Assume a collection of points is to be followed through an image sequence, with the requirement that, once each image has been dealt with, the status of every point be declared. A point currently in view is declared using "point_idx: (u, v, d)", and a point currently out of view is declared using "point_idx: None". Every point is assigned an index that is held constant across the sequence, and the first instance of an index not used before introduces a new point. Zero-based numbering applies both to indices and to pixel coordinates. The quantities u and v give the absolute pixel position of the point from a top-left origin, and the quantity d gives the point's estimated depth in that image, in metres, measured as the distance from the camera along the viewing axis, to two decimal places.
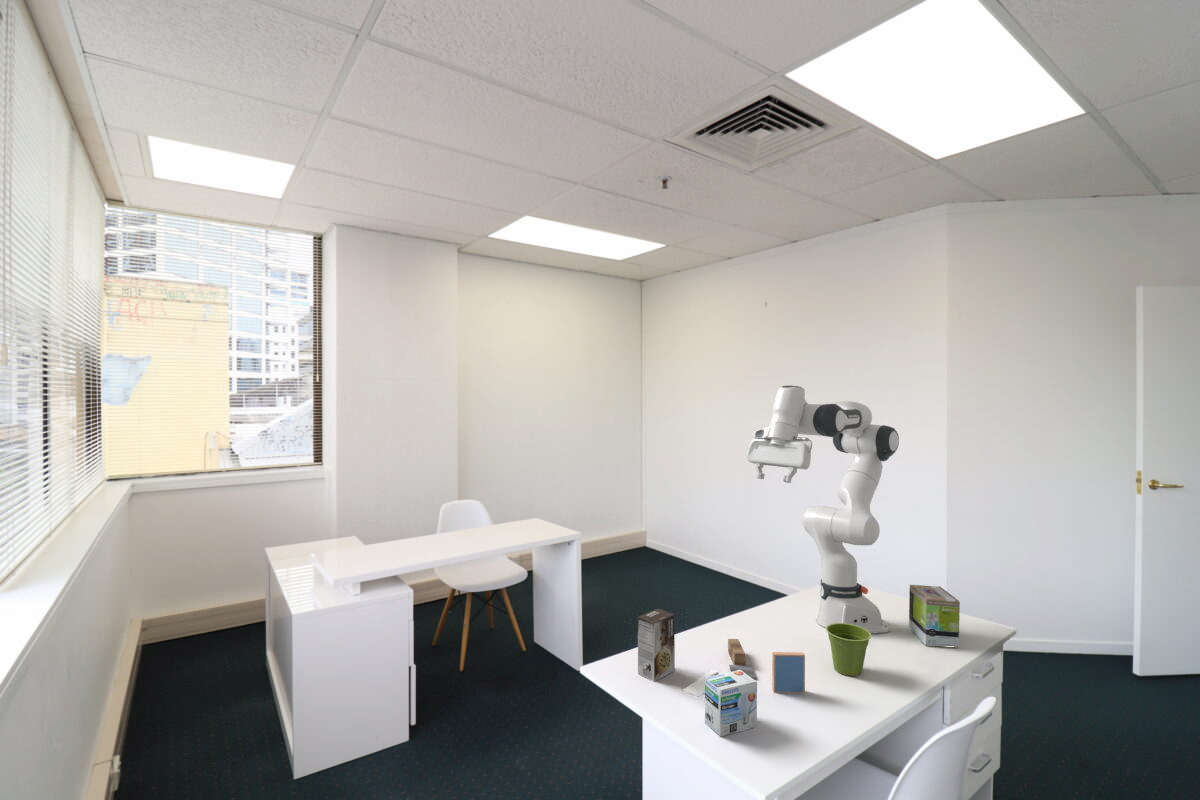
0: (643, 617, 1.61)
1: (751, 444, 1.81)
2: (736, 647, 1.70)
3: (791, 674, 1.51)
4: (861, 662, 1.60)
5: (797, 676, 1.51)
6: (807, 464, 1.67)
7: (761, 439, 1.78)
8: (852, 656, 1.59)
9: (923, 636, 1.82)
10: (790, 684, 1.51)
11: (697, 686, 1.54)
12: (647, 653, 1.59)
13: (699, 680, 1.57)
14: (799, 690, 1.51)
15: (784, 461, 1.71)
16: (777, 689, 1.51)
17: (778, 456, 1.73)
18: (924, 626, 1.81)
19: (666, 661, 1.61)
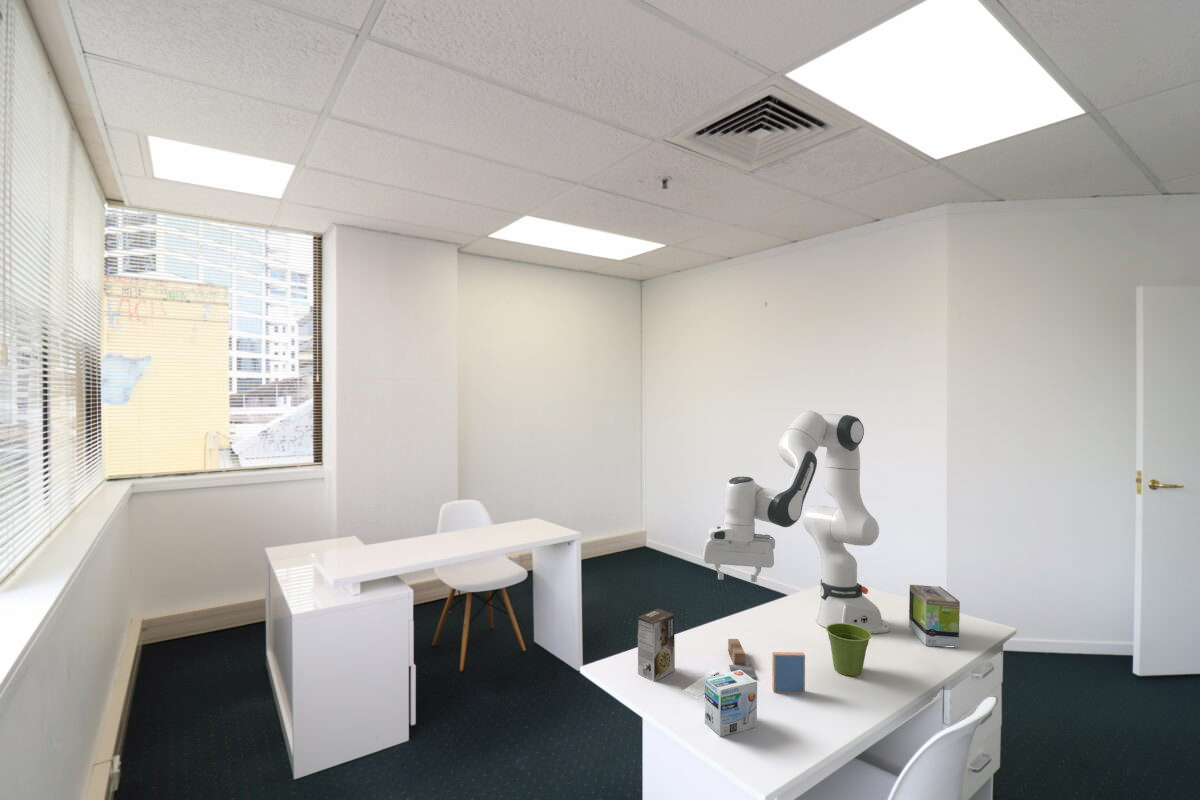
0: (643, 617, 1.61)
1: (709, 546, 1.69)
2: (736, 647, 1.70)
3: (791, 674, 1.51)
4: (861, 662, 1.60)
5: (797, 676, 1.51)
6: None
7: (721, 541, 1.68)
8: (852, 656, 1.59)
9: (923, 636, 1.82)
10: (790, 684, 1.51)
11: (698, 686, 1.54)
12: (647, 653, 1.59)
13: (700, 680, 1.57)
14: (799, 690, 1.51)
15: (751, 563, 1.68)
16: (777, 689, 1.51)
17: (744, 558, 1.68)
18: (924, 626, 1.81)
19: (666, 661, 1.61)
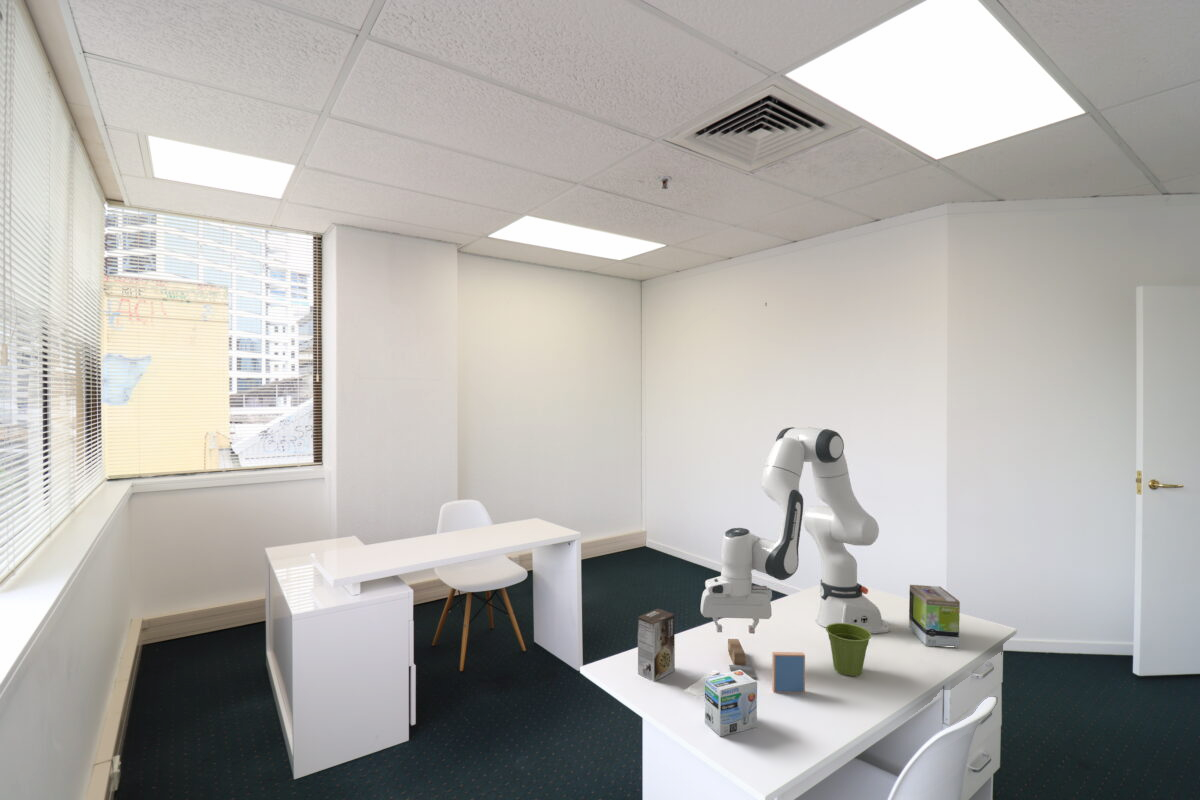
0: (643, 617, 1.61)
1: (707, 600, 1.68)
2: (736, 647, 1.70)
3: (791, 674, 1.51)
4: (861, 662, 1.60)
5: (797, 676, 1.51)
6: None
7: (720, 595, 1.68)
8: (852, 656, 1.59)
9: (923, 636, 1.82)
10: (790, 684, 1.51)
11: (698, 686, 1.54)
12: (647, 653, 1.59)
13: (701, 680, 1.57)
14: (799, 690, 1.51)
15: (749, 615, 1.68)
16: (777, 689, 1.51)
17: (742, 610, 1.68)
18: (924, 626, 1.81)
19: (666, 661, 1.61)
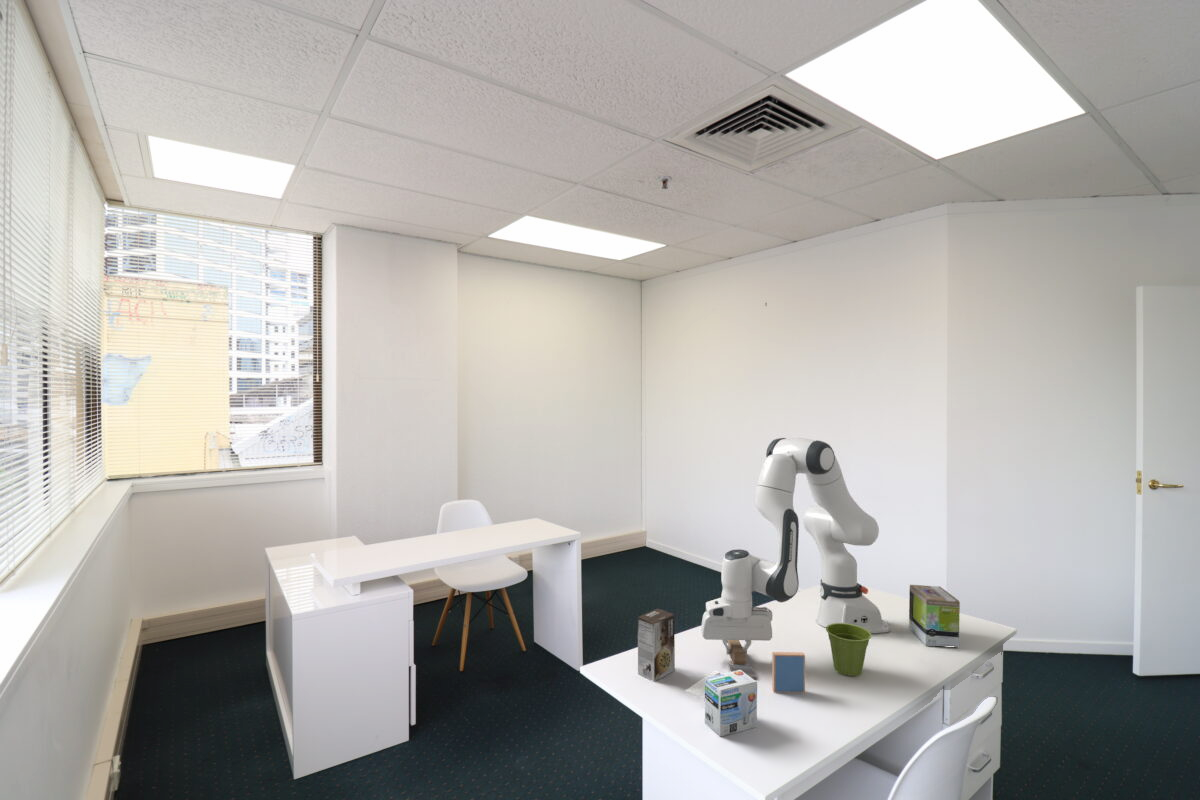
0: (643, 617, 1.61)
1: (708, 622, 1.68)
2: (736, 646, 1.70)
3: (791, 674, 1.51)
4: (861, 662, 1.60)
5: (797, 676, 1.51)
6: None
7: (720, 617, 1.68)
8: (852, 656, 1.59)
9: (923, 636, 1.82)
10: (790, 684, 1.51)
11: (699, 687, 1.54)
12: (647, 653, 1.59)
13: (702, 680, 1.57)
14: (799, 690, 1.51)
15: (750, 637, 1.69)
16: (777, 689, 1.51)
17: (743, 632, 1.69)
18: (924, 626, 1.81)
19: (666, 661, 1.61)
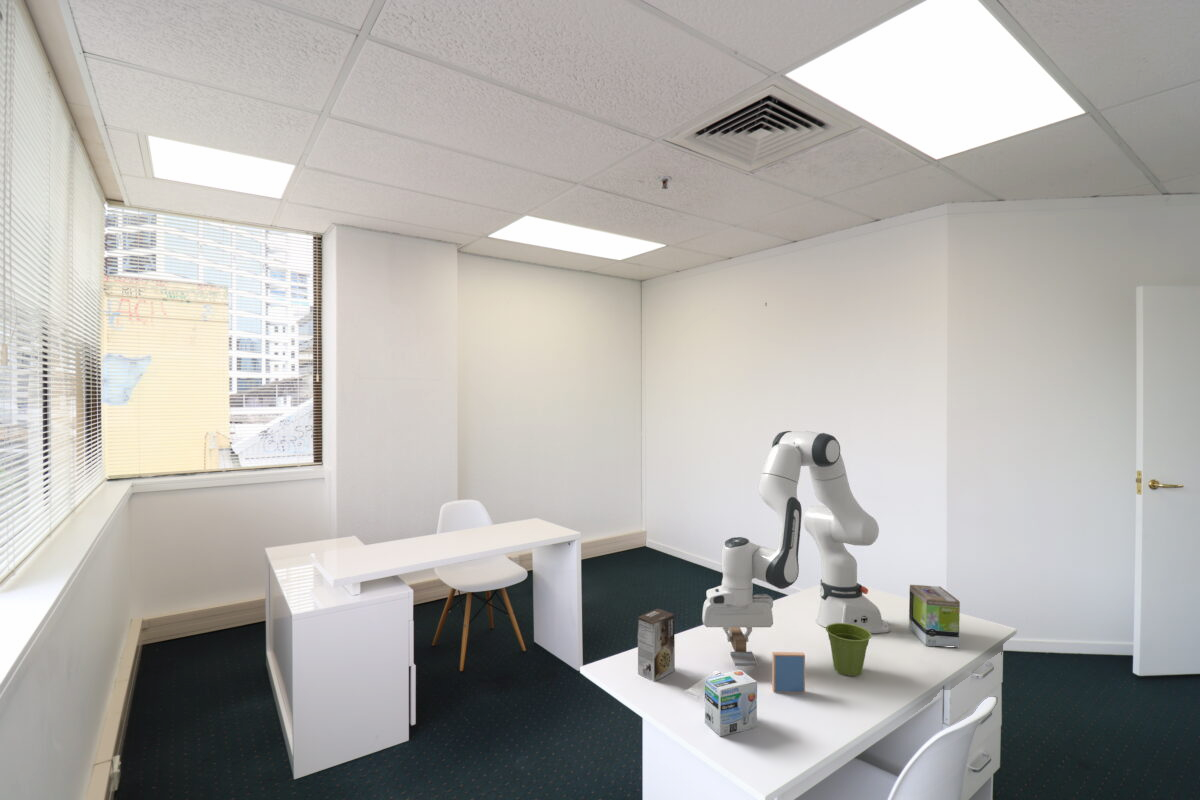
0: (643, 617, 1.61)
1: (709, 610, 1.69)
2: (737, 634, 1.70)
3: (791, 674, 1.51)
4: (861, 662, 1.60)
5: (797, 676, 1.51)
6: None
7: (721, 605, 1.68)
8: (852, 656, 1.59)
9: (923, 636, 1.82)
10: (790, 684, 1.51)
11: (700, 687, 1.53)
12: (647, 653, 1.59)
13: (702, 680, 1.57)
14: (799, 690, 1.51)
15: (751, 624, 1.69)
16: (777, 689, 1.51)
17: (744, 620, 1.69)
18: (924, 626, 1.81)
19: (666, 661, 1.61)
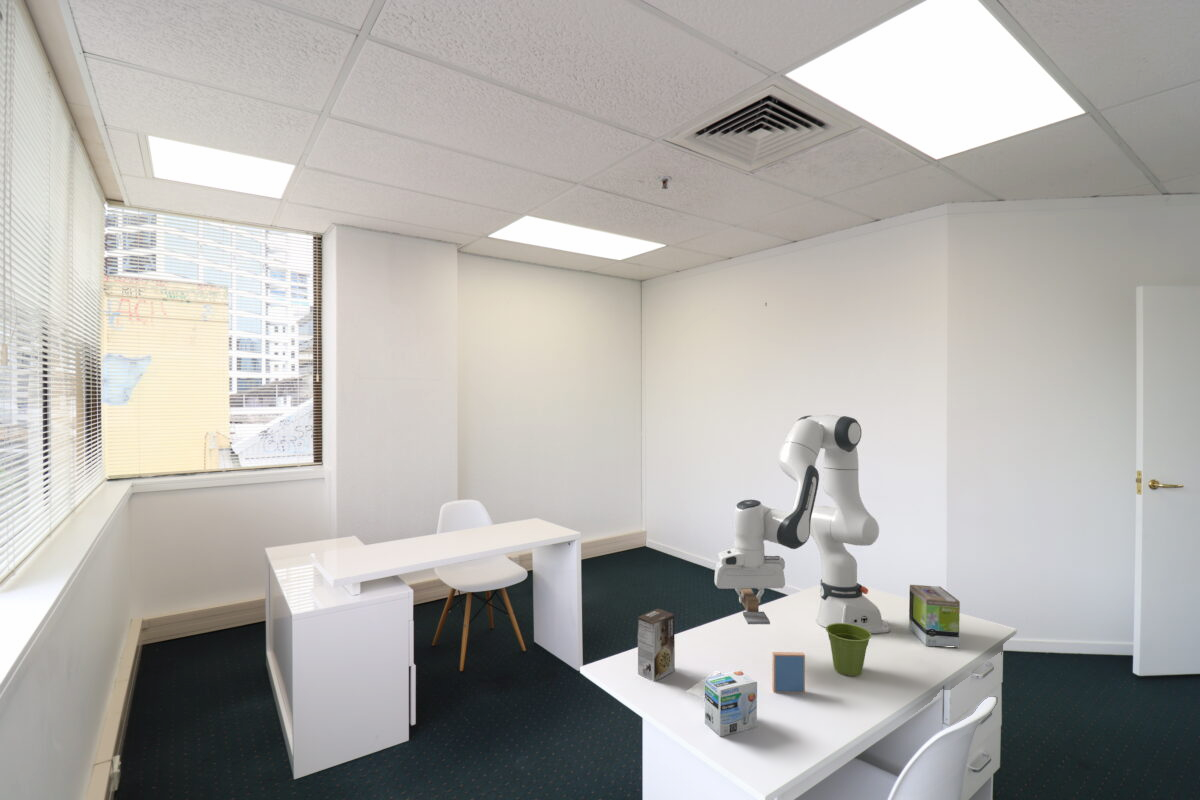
0: (643, 617, 1.61)
1: (721, 571, 1.70)
2: (749, 595, 1.72)
3: (791, 674, 1.51)
4: (861, 662, 1.60)
5: (797, 676, 1.51)
6: None
7: (733, 566, 1.70)
8: (852, 656, 1.59)
9: (923, 636, 1.82)
10: (790, 684, 1.51)
11: (700, 687, 1.53)
12: (647, 653, 1.59)
13: (703, 681, 1.57)
14: (799, 690, 1.51)
15: (763, 585, 1.70)
16: (777, 689, 1.51)
17: (756, 581, 1.70)
18: (924, 626, 1.81)
19: (666, 661, 1.61)
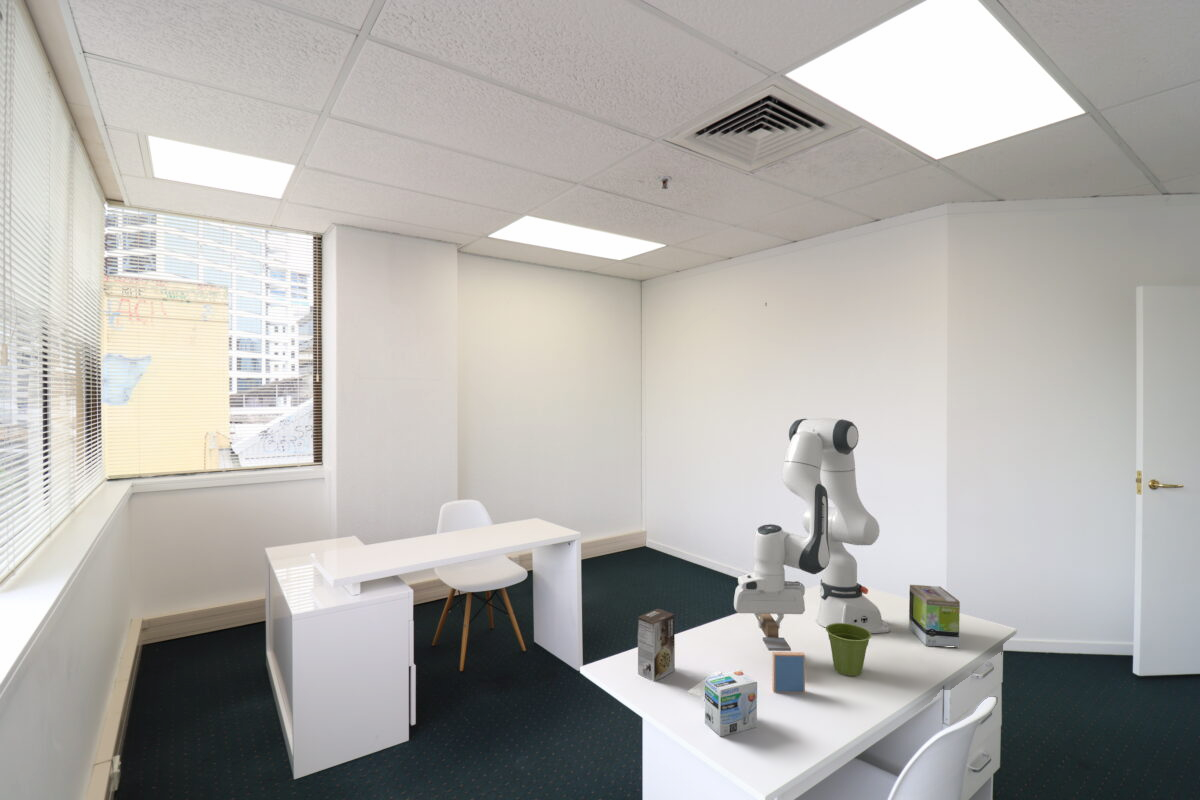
0: (643, 617, 1.61)
1: (741, 596, 1.70)
2: (768, 620, 1.72)
3: (791, 674, 1.51)
4: (861, 662, 1.60)
5: (797, 676, 1.51)
6: None
7: (753, 591, 1.70)
8: (852, 656, 1.59)
9: (923, 636, 1.82)
10: (790, 684, 1.51)
11: (702, 687, 1.53)
12: (647, 653, 1.59)
13: (704, 681, 1.57)
14: (799, 690, 1.51)
15: (783, 610, 1.70)
16: (777, 689, 1.51)
17: (775, 606, 1.70)
18: (924, 626, 1.81)
19: (666, 661, 1.61)
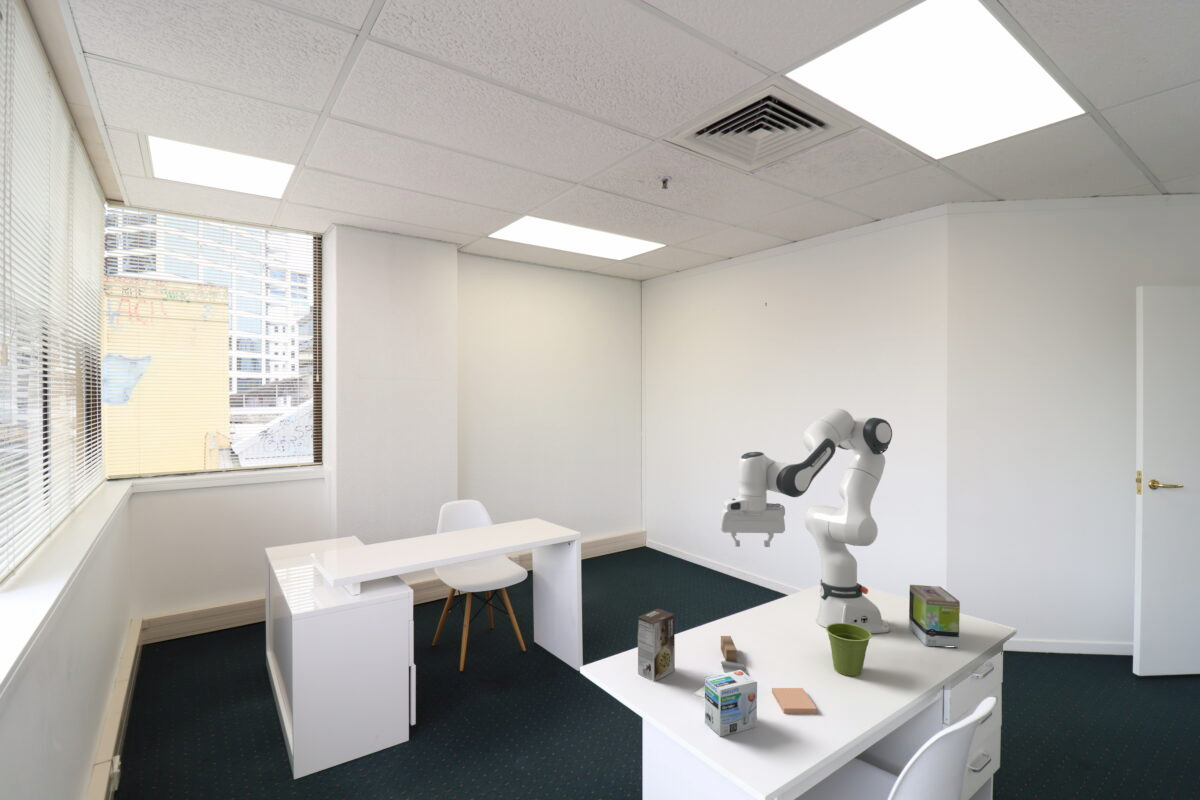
0: (643, 617, 1.61)
1: (726, 516, 1.84)
2: (728, 643, 1.72)
3: None
4: (861, 662, 1.60)
5: None
6: None
7: (737, 511, 1.83)
8: (852, 656, 1.59)
9: (923, 636, 1.82)
10: None
11: None
12: (647, 653, 1.59)
13: None
14: None
15: (765, 529, 1.84)
16: None
17: (758, 525, 1.84)
18: (924, 626, 1.81)
19: (666, 661, 1.61)
